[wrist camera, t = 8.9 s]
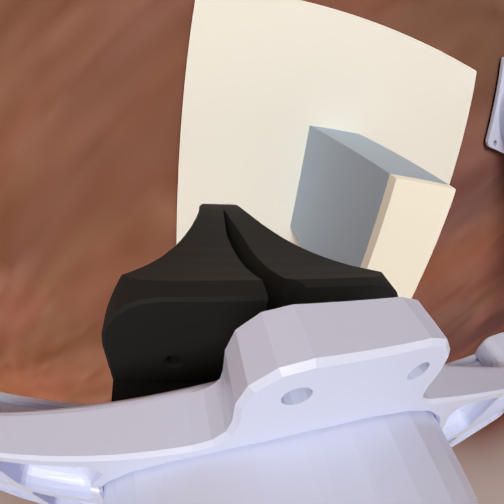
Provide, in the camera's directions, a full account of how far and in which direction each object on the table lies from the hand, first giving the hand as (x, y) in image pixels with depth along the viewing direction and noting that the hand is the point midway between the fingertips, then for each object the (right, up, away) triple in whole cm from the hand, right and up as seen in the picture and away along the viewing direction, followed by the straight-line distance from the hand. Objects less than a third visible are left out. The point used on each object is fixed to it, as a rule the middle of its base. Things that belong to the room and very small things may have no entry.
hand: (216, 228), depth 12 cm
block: (+5, +3, +6) cm, 8 cm away
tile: (+6, +4, +6) cm, 10 cm away
